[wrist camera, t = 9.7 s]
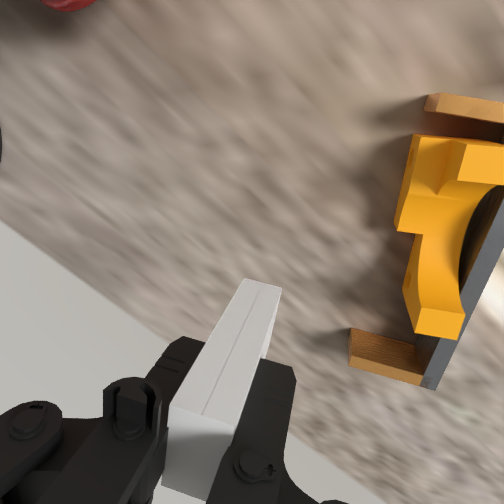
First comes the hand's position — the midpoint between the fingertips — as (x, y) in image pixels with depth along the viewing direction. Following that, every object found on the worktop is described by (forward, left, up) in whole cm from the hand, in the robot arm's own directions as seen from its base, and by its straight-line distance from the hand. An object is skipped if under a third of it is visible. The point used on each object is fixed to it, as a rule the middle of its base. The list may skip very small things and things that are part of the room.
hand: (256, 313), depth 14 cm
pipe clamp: (+9, +1, -17) cm, 19 cm away
